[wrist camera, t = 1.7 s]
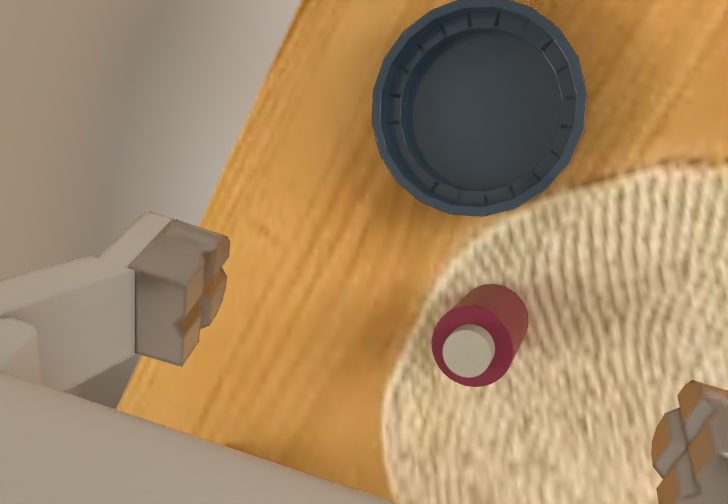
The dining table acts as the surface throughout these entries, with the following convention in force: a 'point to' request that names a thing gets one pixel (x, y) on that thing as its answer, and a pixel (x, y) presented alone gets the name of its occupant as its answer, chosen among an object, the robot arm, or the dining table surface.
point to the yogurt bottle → (480, 335)
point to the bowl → (479, 107)
